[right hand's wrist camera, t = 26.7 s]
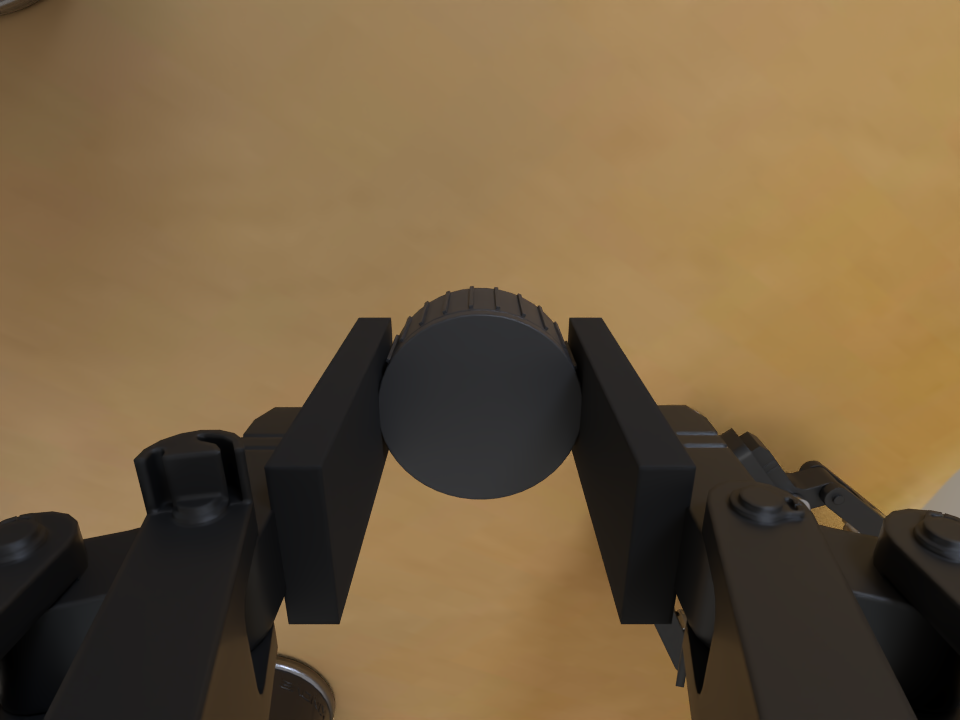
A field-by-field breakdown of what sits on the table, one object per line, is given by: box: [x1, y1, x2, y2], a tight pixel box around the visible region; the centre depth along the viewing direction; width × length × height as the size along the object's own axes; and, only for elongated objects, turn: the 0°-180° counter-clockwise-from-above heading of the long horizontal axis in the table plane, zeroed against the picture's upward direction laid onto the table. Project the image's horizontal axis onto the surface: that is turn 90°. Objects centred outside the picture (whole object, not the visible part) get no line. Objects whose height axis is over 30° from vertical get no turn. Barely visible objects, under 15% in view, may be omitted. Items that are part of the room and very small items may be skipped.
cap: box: [378, 286, 582, 499], centre depth 13 cm, size 4×4×2 cm
